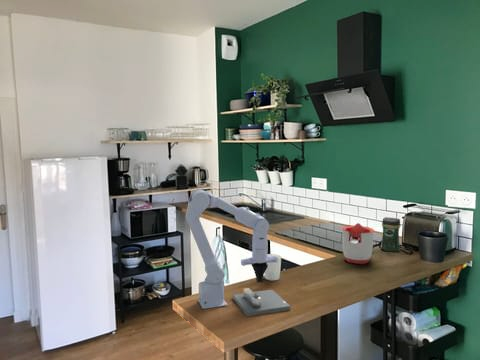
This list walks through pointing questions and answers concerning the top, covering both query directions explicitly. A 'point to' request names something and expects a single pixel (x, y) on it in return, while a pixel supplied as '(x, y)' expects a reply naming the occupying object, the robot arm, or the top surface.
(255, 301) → the lever
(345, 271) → the top surface
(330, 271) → the top surface
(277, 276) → the white cup
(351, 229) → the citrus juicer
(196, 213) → the robot arm
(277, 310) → the plate
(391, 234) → the coffee jar
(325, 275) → the top surface
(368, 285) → the top surface
